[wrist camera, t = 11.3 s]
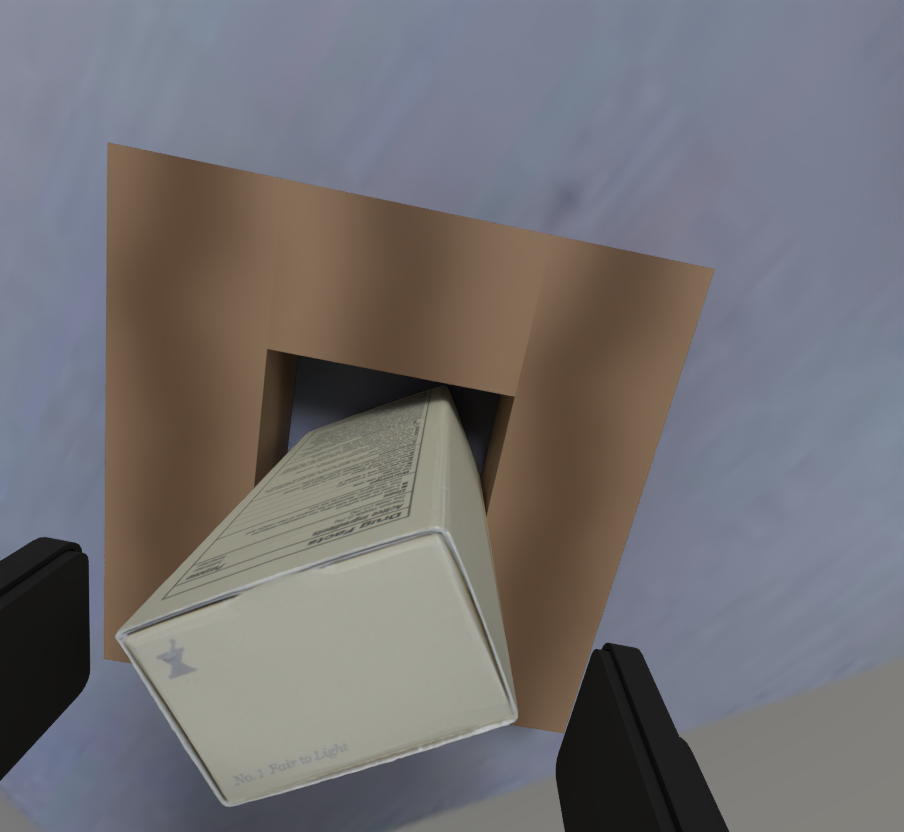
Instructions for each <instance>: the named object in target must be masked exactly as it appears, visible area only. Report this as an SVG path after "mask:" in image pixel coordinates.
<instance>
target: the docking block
mask: <svg viewBox="0 0 904 832" xmlns="http://www.w3.org/2000/svg"><path fill="white" fill-rule="evenodd" d="M714 270H715V269H712V268H707V267H703V266H698V265H693V264H688V263H683V262H679V261H674V260H669V259H664V258H659V257H655V256H650V255H645V254H640V253H635V252H631V251H626V250H621V249H616V248H612V247H607V246H602V245H597V244H592V243H588V242H583V241H578V240H573V239H568V238H564V237H559V236H554V235H549V234H544V233H540V232H535V231H530V230H525V229H520V228H516V227H511V226H506V225H501V224H497V223H492V222H487V221H482V220H477V219H473V218H468V217H463V216H458V215H453V214H449V213H444V212H439V211H434V210H429V209H425V208H420V207H415V206H410V205H406V204H401V203H396V202H391V201H386V200H382V199H377V198H372V197H367V196H362V195H358V194H353V193H348V192H343V191H338V190H334V189H329V188H324V187H319V186H315V185H310V184H305V183H300V182H295V181H291V180H286V179H281V178H276V177H271V176H267V175H262V174H257V173H252V172H247V171H243V170H238V169H233V168H228V167H223V166H219V165H214V164H209V163H204V162H200V161H195V160H190V159H185V158H180V157H176V156H171V155H166V154H161V153H156V152H152V151H147V150H142V149H137V148H132V147H128V146H123V145H118V144H113V143H109V142H108V150H107V293H106V435H105V577H104V659H107V660H114V661H120V662H126V663H131V661H130V659H129V657H128V656H127V654H126V653H125V651H124V650H123V648H122V647H121V645H120V644H119V643H118V641H117V640H116V638H115V635H116V633H117V631H118V630H119V629H120V628H121V627H122V626H123V625H124V624H125V623H126V622H127V621H128V620H129V619H130V618H131V617H132V616H133V614H134V613H135V612H136V611H137V610H138V609H139V608H140V607H141V606H142V605H143V604H144V603H145V602H146V601H147V600H148V599H149V598H150V597H151V596H152V595H153V593H154V592H155V591H156V590H157V589H158V588H159V587H160V586H161V585H162V584H163V583H164V582H165V581H166V580H167V579H168V578H169V577H170V576H171V575H172V574H173V573H174V572H175V571H176V570H177V569H178V567H179V566H180V565H181V564H182V563H183V562H184V561H185V560H186V559H187V558H188V557H189V556H190V555H191V554H192V553H193V552H194V551H195V550H196V549H197V548H198V546H199V545H200V544H201V543H202V542H203V541H204V540H205V539H206V538H207V537H208V536H209V535H210V534H211V533H212V532H213V531H214V530H215V528H216V527H217V526H218V525H219V524H220V523H221V522H222V521H223V520H224V519H225V518H226V517H227V516H228V515H229V514H230V513H231V512H232V511H233V510H234V509H235V508H236V507H237V506H238V505H239V503H240V502H242V501H243V500H244V499H245V498H246V496H247V495H248V494H249V493H250V492H251V491H252V490H253V489H254V488H255V487H256V486H257V485H258V484H259V483H260V481H261V480H262V479H263V478H264V477H265V476H266V475H267V474H268V473H269V472H270V471H271V470H272V469H273V468H274V467H275V466H276V465H277V464H278V463H279V462H280V461H281V460H282V459H283V457H284V456H285V455H286V454H287V449H288V440H289V431H290V423H291V414H292V405H293V396H294V387H295V378H296V369H297V360H298V355H301V356H306V357H312V358H317V359H322V360H327V361H332V362H338V363H343V364H348V365H353V366H358V367H364V368H369V369H374V370H379V371H384V372H389V373H395V374H400V375H405V376H410V377H415V378H421V379H426V380H431V381H436V382H441V383H447V384H452V385H457V386H462V387H467V388H472V389H478V390H483V391H488V392H493V393H498V394H500V398H499V402H498V407H497V411H496V415H495V420H494V424H493V429H492V433H491V437H490V442H489V446H488V451H487V455H486V459H485V464H484V468H483V472H482V477H481V487H482V493H483V500H484V506H485V513H486V519H487V525H488V532H489V538H490V544H491V550H492V556H493V562H494V568H495V574H496V580H497V586H498V592H499V598H500V603H501V610H502V616H503V623H504V629H505V636H506V642H507V648H508V654H509V660H510V666H511V672H512V678H513V683H514V689H515V695H516V701H517V707H518V719H517V720H516V721H515V722H514V723H511V724H510V725H516V726H522V727H528V728H534V729H541V730H547V731H553V732H559V733H564V732H565V729H566V725H567V722H568V719H569V716H570V713H571V710H572V707H573V704H574V701H575V698H576V695H577V692H578V689H579V685H580V682H581V679H582V676H583V673H584V670H585V667H586V664H587V661H588V658H589V655H590V652H591V649H592V645H593V642H594V639H595V636H596V633H597V630H598V627H599V624H600V621H601V618H602V615H603V612H604V609H605V605H606V602H607V599H608V596H609V593H610V590H611V587H612V584H613V581H614V578H615V575H616V572H617V568H618V565H619V562H620V559H621V556H622V553H623V550H624V547H625V544H626V541H627V538H628V535H629V532H630V528H631V525H632V522H633V519H634V516H635V513H636V510H637V507H638V504H639V501H640V498H641V495H642V492H643V488H644V485H645V482H646V479H647V476H648V473H649V470H650V467H651V464H652V461H653V458H654V455H655V452H656V448H657V445H658V442H659V439H660V436H661V433H662V430H663V427H664V424H665V421H666V418H667V415H668V411H669V408H670V405H671V402H672V399H673V396H674V393H675V390H676V387H677V384H678V381H679V378H680V375H681V371H682V368H683V365H684V362H685V359H686V356H687V353H688V350H689V347H690V344H691V341H692V338H693V335H694V331H695V328H696V325H697V322H698V319H699V316H700V313H701V310H702V307H703V304H704V301H705V298H706V295H707V291H708V288H709V285H710V282H711V279H712V276H713V273H714Z"/></svg>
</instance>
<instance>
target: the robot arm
mask: <svg viewBox="0 0 904 832" xmlns="http://www.w3.org/2000/svg"><path fill="white" fill-rule="evenodd" d="M89 675H90V629H89V561H88V556H87V555H86V554H84V553H82V549H81V547H80V545H79V544H77V543H74V542H69V541H63V540H58V539H53V538H47V537H41V538H38V539H36V540H33V541H32V542H30V543H29V544H27V545H25V546H24V547H22V548H21V549H19V550H17V551H16V552H14V553H12V554H11V555H9V556H8V557H6V558H4V559H3V560H1V561H0V781H1V780H2V778H3V777H4V776H5V775H6V774H7V773H8V772H9V771H10V770H11V769H12V768H13V766H14V765H15V764H16V763H17V762H18V761H19V760H20V759H21V758H22V757H23V756H24V754H25V753H26V752H27V751H28V750H29V749H30V748H31V747H32V746H33V745H34V744H35V743H36V741H37V740H38V739H39V738H40V737H41V736H42V735H43V734H44V733H45V732H46V731H47V729H48V728H49V727H50V726H51V725H52V724H53V723H54V722H55V721H56V720H57V719H58V717H59V716H60V715H61V714H62V713H63V712H64V711H65V710H66V709H67V708H68V707H69V705H70V704H71V703H72V702H73V701H74V700H75V699H76V698H77V697H78V696H79V694H80V693H81V692H82V690H83V689H84V687H85V685H86V683H87V681H88V678H89ZM556 781H557V788H558V793H559V799H560V805H561V811H562V817H563V823H564V828H565V832H729V830H728V828H727V826H726V824H725V822H724V819H723V817H722V815H721V813H720V811H719V809H718V806H717V804H716V802H715V800H714V798H713V796H712V794H711V791H710V789H709V788H708V785H707V783H706V781H705V778H704V776H703V774H702V772H701V770H700V768H699V765H698V763H697V761H696V759H695V757H694V755H693V753H692V751H691V749H690V747H689V746H688V744H687V743H686V742H685V741H684V740H683V739H682V738H681V737H679V735H678V733H677V730H676V728H675V726H674V724H673V722H672V719H671V717H670V715H669V713H668V710H667V708H666V706H665V704H664V702H663V699H662V697H661V695H660V693H659V690H658V688H657V686H656V684H655V682H654V679H653V677H652V675H651V673H650V671H649V668H648V666H647V664H646V662H645V659H644V657H643V655H642V653H641V652H640V650H639V649H637V648H634V647H628V646H623V645H618V644H612V643H606V644H605V645H604V646H603V648H602V650H599V649H595V650H594V651H593V653H592V655H591V658H590V661H589V664H588V667H587V670H586V673H585V676H584V679H583V682H582V685H581V688H580V691H579V694H578V697H577V700H576V702H575V705H574V708H573V711H572V714H571V717H570V720H569V723H568V726H567V729H566V732H565V735H564V738H563V741H562V744H561V747H560V750H559V753H558V757H557V762H556Z"/></svg>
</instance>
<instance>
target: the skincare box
mask: <svg viewBox="0 0 904 832" xmlns="http://www.w3.org/2000/svg"><path fill="white" fill-rule="evenodd" d="M115 638H116V640H117V641H118V643H119V644H120V645H121V647H122V648H123V650H124V651H125V653H126V654H127V656H128V657H129V659H130V661H131V663H132V664H133V666H134V668H135V670H136V671H137V673H138V674H139V676H140V678H141V679H142V681H143V683H144V684H145V685H146V687H147V689H148V691H149V693H150V695H151V696H152V697H153V698H154V700H155V702H156V704H157V706H158V707H159V709H160V710H161V712H162V713H163V714H164V716H165V718H166V719H167V721H168V723H169V724H170V726H171V727H172V729H173V731H174V732H175V733H176V735H177V737H178V738H179V740H180V741H181V743H182V745H183V747H184V749H185V750H186V752H187V753H188V755H189V756H190V758H191V759H192V761H193V762H194V763H195V764H196V766H197V768H198V769H199V771H200V772H201V774H202V776H203V777H204V779H205V780H206V782H207V783H208V785H209V786H210V788H211V789H212V791H213V792H214V794H215V795H216V797H217V799H218V800H219V801H220V803H221V804H222V805H224V806H226V807H232V806H237V805H241V804H244V803H247V802H250V801H256V800H260V799H263V798H266V797H270V796H274V795H278V794H283V793H285V792H289V791H292V790H295V789H298V788H302V787H306V786H309V785H313V784H317V783H319V782H322V781H326V780H329V779H334V778H337V777H340V776H343V775H346V774H350V773H354V772H358V771H361V770H364V769H367V768H369V767H373V766H376V765H379V764H383V763H388V762H392V761H395V760H396V759H398V758H404V757H405V756H410V755H413V754H416V753H419V752H423V751H427V750H430V749H433V748H437V747H439V746H442V745H445V744H447V743H451V742H454V741H458V740H461V739H465V738H468V737H471V736H474V735H477V734H481V733H484V732H487V731H490V730H493V729H497V728H499V727H502V726H507V725H509V724H511V723H514V722H515V721H516V720H517V719H518V707H517V701H516V695H515V689H514V683H513V678H512V672H511V666H510V660H509V654H508V648H507V642H506V636H505V629H504V623H503V616H502V610H501V603H500V598H499V592H498V586H497V580H496V574H495V568H494V562H493V556H492V550H491V544H490V538H489V532H488V525H487V519H486V513H485V506H484V500H483V493H482V487H481V480H480V475H479V472H478V469H477V466H476V463H475V460H474V457H473V454H472V451H471V448H470V445H469V442H468V439H467V437H466V434H465V431H464V428H463V425H462V423H461V420H460V417H459V414H458V411H457V409H456V406H455V404H454V401H453V398H452V396H451V393H450V390H449V389H448V388H447V387H446V386H439V387H436V388H433V389H429V390H426V391H423V392H420V393H417V394H414V395H411V396H408V397H405V398H402V399H399V400H396V401H393V402H390V403H387V404H384V405H381V406H378V407H375V408H373V409H370V410H367V411H364V412H361V413H358V414H355V415H352V416H350V417H347V418H344V419H341V420H338V421H336V422H333V423H331V424H328V425H325V426H323V427H320V428H317V429H315V430H312V431H310V432H308V433H306V434H305V435H304V436H303V438H302V439H301V440H300V441H299V442H298V443H297V444H296V445H295V446H294V447H293V448H292V449H291V450H290V451H289V452H288V453H287V454H286V455H285V456H284V457H283V459H282V460H281V461H280V462H279V463H278V464H277V465H276V466H275V467H274V468H273V469H272V470H271V471H270V472H269V473H268V474H267V475H266V476H265V477H264V478H263V479H262V480H261V481H260V483H259V484H258V485H257V486H256V487H255V488H254V489H253V490H252V491H251V492H250V493H249V494H248V495H247V496H246V498H245V499H244V500H243V501H242V502H240V503H239V505H238V506H237V507H236V508H235V509H234V510H233V511H232V512H231V513H230V514H229V515H228V516H227V517H226V518H225V519H224V520H223V521H222V522H221V523H220V524H219V525H218V526H217V527H216V528H215V530H214V531H213V532H212V533H211V534H210V535H209V536H208V537H207V538H206V539H205V540H204V541H203V542H202V543H201V544H200V545H199V546H198V548H197V549H196V550H195V551H194V552H193V553H192V554H191V555H190V556H189V557H188V558H187V559H186V560H185V561H184V562H183V563H182V564H181V565H180V566H179V567H178V569H177V570H176V571H175V572H174V573H173V574H172V575H171V576H170V577H169V578H168V579H167V580H166V581H165V582H164V583H163V584H162V585H161V586H160V587H159V588H158V589H157V590H156V591H155V592H154V593H153V595H152V596H151V597H150V598H149V599H148V600H147V601H146V602H145V603H144V604H143V605H142V606H141V607H140V608H139V609H138V610H137V611H136V612H135V613H134V614H133V616H132V617H131V618H130V619H129V620H128V621H127V622H126V623H125V624H124V625H123V626H122V627H121V628H120V629H119V630H118V631H117V633H116V635H115Z"/></svg>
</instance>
